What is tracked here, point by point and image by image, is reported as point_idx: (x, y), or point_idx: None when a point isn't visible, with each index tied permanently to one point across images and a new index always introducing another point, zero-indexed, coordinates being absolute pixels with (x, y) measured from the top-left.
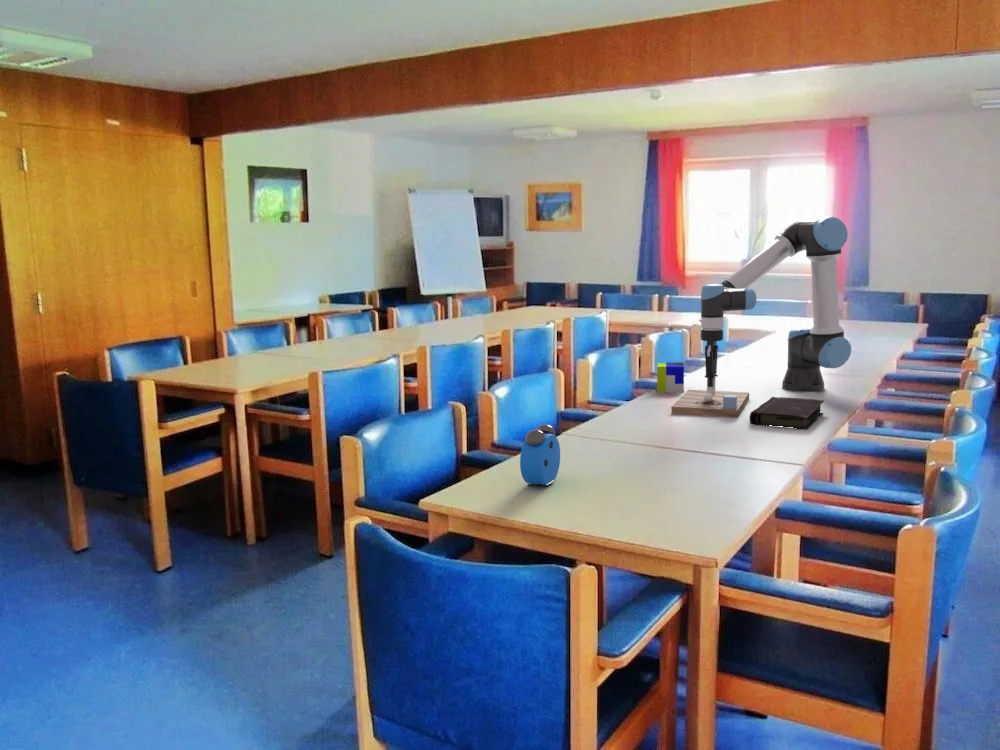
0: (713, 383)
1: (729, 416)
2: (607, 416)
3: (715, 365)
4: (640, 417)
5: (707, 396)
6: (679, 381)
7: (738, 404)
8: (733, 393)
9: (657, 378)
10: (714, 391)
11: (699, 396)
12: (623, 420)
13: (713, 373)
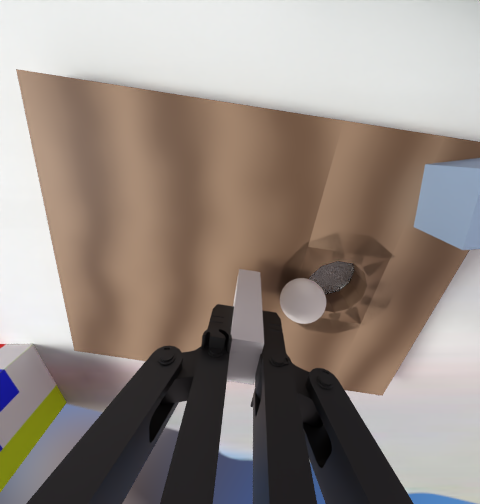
0: (261, 319)
1: None
2: None
3: (196, 446)
4: (408, 431)
5: (325, 307)
6: (2, 389)
7: (376, 144)
8: (84, 171)
9: (29, 452)
10: (260, 284)
11: (196, 317)
12: (436, 456)
13: (317, 393)
